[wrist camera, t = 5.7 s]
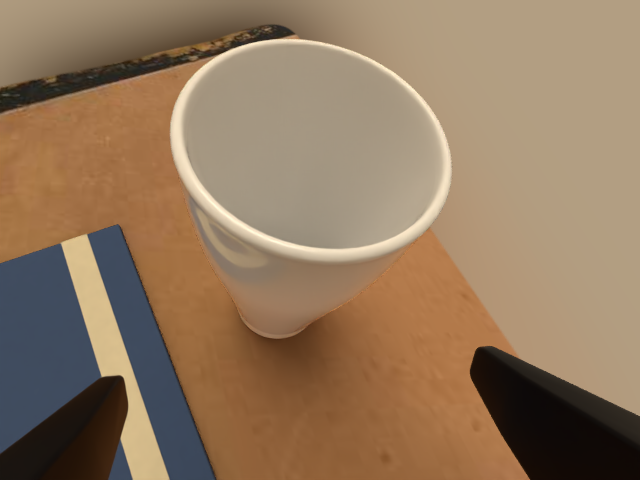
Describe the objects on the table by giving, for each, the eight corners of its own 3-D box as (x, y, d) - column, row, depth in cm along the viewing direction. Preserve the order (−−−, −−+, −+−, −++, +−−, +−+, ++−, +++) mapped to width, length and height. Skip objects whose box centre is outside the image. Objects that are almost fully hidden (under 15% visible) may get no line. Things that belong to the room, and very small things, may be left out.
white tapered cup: (260, 234, 22) (269, 2, 9) (344, 280, 22) (483, 110, 9) (201, 318, 19) (82, 153, 6) (298, 373, 19) (408, 332, 5)
